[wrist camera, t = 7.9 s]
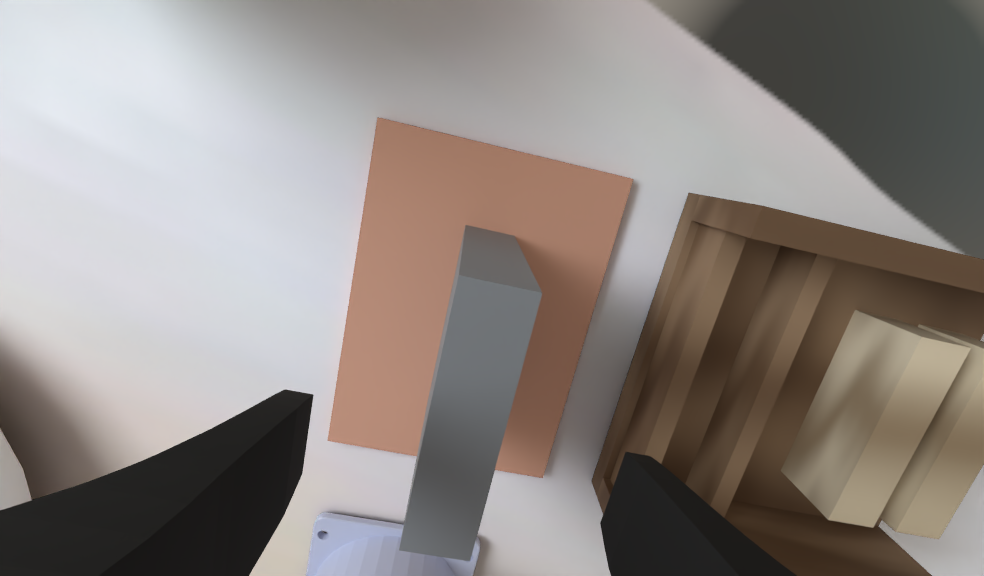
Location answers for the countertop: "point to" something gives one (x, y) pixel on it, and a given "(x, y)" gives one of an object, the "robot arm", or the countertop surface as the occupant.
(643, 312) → the countertop surface
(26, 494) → the plate
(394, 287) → the terracotta mat
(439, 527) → the gray block
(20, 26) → the countertop surface
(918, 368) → the birch offcut
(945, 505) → the birch offcut
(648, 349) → the walnut rack
